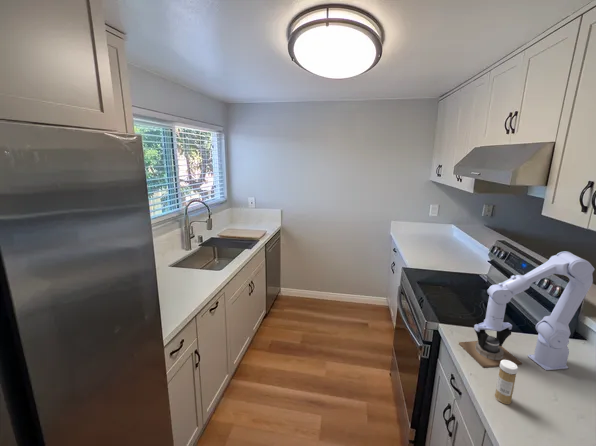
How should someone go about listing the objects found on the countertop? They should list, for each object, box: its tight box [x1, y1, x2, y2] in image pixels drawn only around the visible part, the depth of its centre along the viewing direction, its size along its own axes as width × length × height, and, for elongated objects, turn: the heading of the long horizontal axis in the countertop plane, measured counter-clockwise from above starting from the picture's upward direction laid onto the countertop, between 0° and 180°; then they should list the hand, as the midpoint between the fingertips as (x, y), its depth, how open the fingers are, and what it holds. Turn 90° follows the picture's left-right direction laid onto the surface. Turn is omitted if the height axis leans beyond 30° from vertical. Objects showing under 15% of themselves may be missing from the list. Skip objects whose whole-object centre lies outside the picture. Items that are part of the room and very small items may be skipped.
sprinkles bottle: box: [494, 360, 519, 405], centre depth 91 cm, size 5×5×14 cm
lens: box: [483, 335, 499, 353], centre depth 113 cm, size 5×5×6 cm
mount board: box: [458, 340, 523, 368], centre depth 114 cm, size 16×14×3 cm
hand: (489, 345), depth 113 cm, fingers open, 7 cm apart
